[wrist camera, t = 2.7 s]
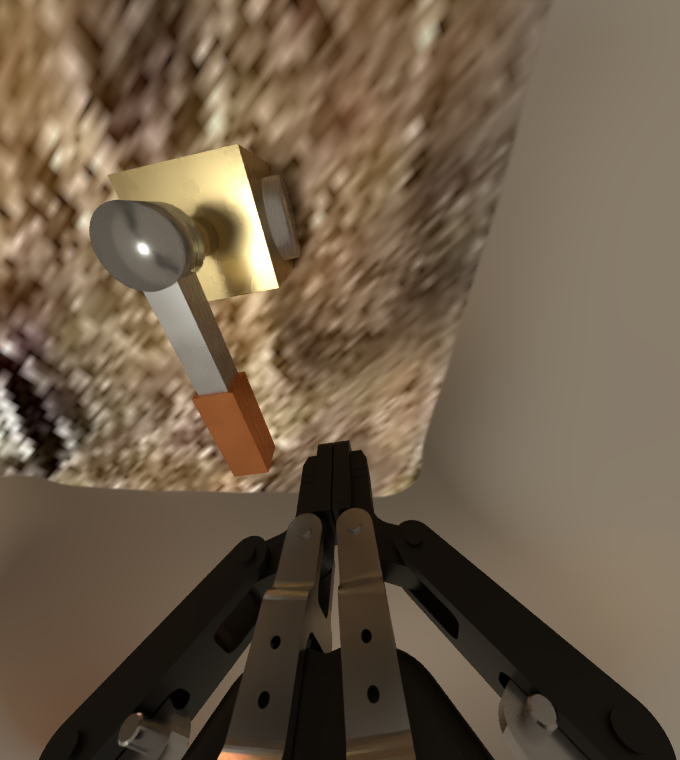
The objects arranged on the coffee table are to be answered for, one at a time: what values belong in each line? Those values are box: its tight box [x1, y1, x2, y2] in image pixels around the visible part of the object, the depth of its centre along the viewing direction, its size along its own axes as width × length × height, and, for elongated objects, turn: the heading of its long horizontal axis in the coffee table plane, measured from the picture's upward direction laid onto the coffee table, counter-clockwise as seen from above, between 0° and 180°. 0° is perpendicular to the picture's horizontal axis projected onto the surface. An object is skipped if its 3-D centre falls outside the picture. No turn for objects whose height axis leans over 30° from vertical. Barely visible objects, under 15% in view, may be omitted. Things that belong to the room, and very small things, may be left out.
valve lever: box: [89, 200, 275, 476], centre depth 15 cm, size 15×3×2 cm, turn 10°
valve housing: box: [108, 144, 300, 301], centre depth 18 cm, size 7×9×10 cm
